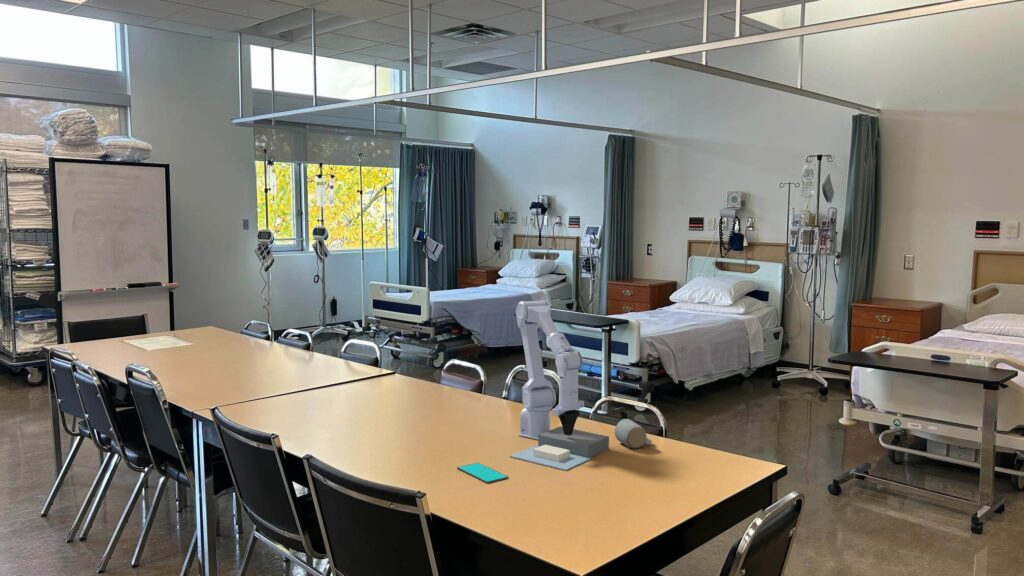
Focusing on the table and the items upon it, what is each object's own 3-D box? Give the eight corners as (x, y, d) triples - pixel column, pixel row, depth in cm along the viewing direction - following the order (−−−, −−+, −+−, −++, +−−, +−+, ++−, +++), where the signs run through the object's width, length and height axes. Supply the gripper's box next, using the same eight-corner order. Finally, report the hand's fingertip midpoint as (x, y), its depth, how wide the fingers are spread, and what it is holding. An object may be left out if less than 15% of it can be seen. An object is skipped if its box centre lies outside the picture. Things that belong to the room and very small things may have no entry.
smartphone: (487, 482, 197) (456, 467, 209) (487, 485, 197) (456, 470, 209) (509, 476, 202) (478, 462, 214) (509, 479, 202) (478, 465, 214)
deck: (538, 447, 229) (538, 434, 229) (560, 438, 239) (560, 426, 239) (587, 458, 218) (588, 445, 218) (608, 449, 228) (609, 436, 228)
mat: (509, 457, 220) (509, 455, 220) (535, 446, 230) (535, 445, 230) (566, 471, 208) (566, 469, 208) (590, 459, 218) (590, 458, 218)
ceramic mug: (627, 450, 226) (628, 426, 226) (613, 443, 234) (614, 419, 233) (657, 447, 230) (658, 423, 230) (642, 440, 238) (643, 416, 237)
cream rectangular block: (545, 444, 224) (545, 451, 224) (533, 449, 220) (533, 455, 220) (570, 450, 219) (569, 456, 219) (558, 455, 214) (558, 461, 214)
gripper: (566, 397, 217) (565, 442, 218) (592, 388, 228) (591, 431, 229) (546, 393, 221) (546, 438, 222) (573, 385, 232) (572, 427, 233)
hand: (568, 434), depth 226 cm, fingers closed
